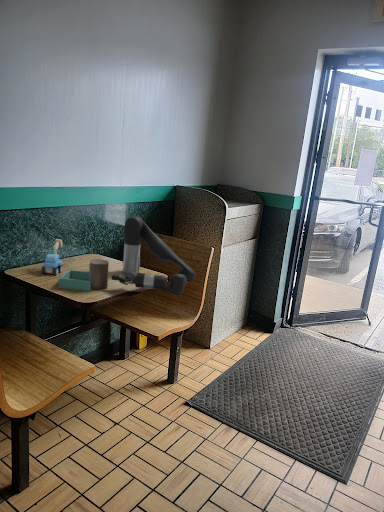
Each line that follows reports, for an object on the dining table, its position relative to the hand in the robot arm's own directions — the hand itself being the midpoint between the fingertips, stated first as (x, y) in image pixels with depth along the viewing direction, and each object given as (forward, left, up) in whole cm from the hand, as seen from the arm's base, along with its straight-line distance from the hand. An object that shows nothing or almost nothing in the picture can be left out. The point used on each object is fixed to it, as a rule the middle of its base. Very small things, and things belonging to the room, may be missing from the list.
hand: (111, 277), depth 217 cm
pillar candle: (+6, -3, -6) cm, 10 cm away
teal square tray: (+16, -7, -6) cm, 18 cm away
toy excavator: (+28, -30, -6) cm, 41 cm away
